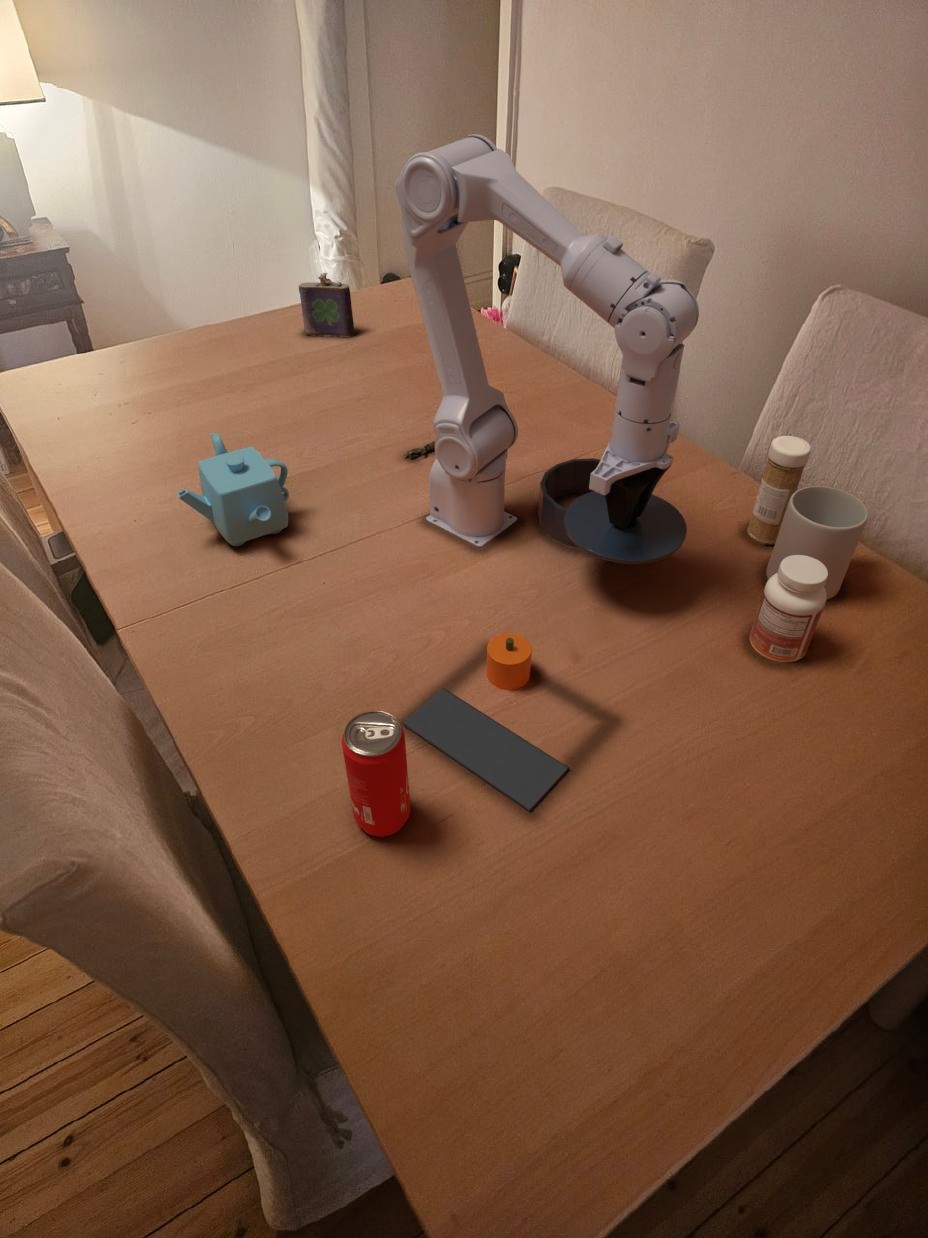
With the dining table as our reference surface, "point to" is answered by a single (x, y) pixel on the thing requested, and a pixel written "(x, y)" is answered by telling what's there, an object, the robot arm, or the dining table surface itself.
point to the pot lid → (625, 530)
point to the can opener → (421, 449)
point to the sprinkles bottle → (778, 486)
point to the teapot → (240, 493)
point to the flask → (326, 308)
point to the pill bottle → (790, 609)
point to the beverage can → (377, 772)
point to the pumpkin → (508, 661)
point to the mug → (821, 531)
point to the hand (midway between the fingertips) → (625, 518)
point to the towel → (486, 748)
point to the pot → (560, 483)
